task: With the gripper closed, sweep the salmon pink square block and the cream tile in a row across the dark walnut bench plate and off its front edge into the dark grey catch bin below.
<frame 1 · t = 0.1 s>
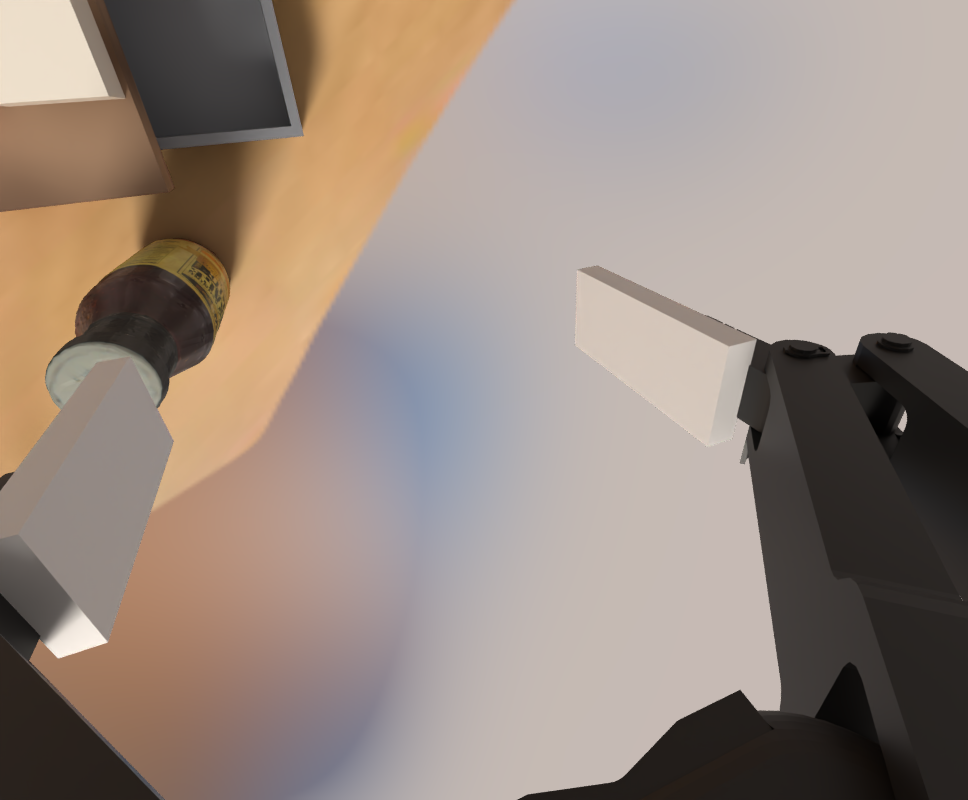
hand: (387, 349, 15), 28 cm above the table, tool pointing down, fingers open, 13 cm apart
cream tile: (41, 40, 23), point 8 cm above the table, touching bench plate
sauce bottle: (185, 273, 36), on the table
catch bin: (174, 33, 30), on the table
bench plate: (41, 60, 29), on the table
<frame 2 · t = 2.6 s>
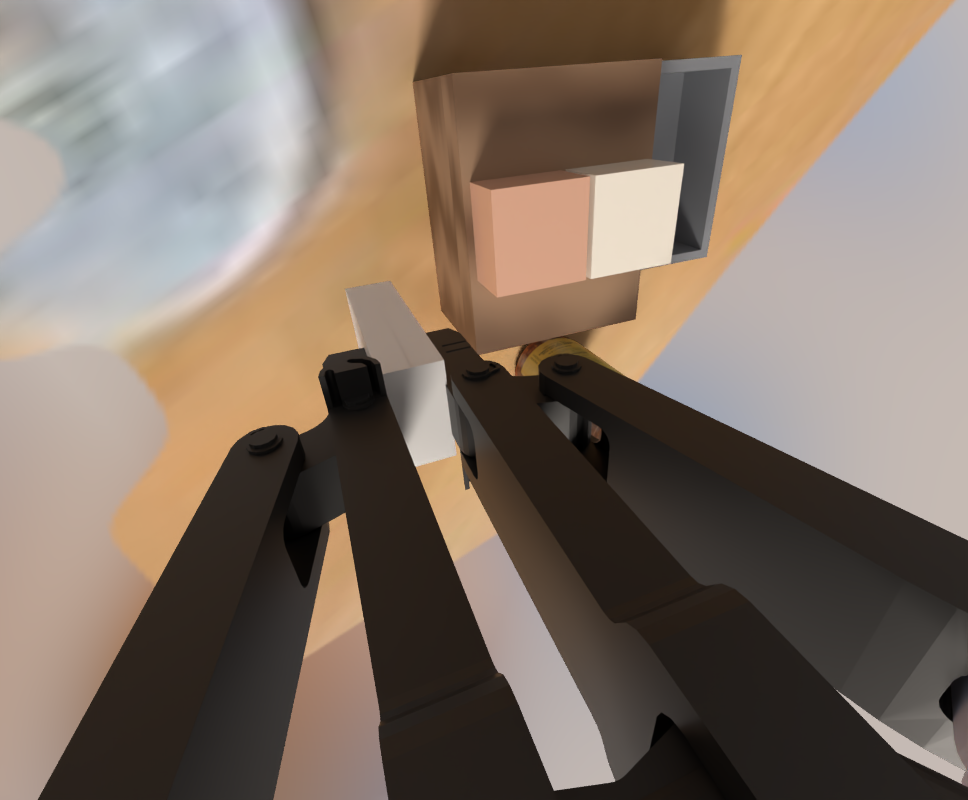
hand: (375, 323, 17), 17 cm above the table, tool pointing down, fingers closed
cream tile: (604, 213, 27), point 8 cm above the table, touching bench plate
sauce bottle: (544, 361, 41), on the table
salmon pink square block: (517, 226, 26), point 8 cm above the table, touching bench plate
catch bin: (603, 169, 34), on the table
bench plate: (506, 198, 33), on the table
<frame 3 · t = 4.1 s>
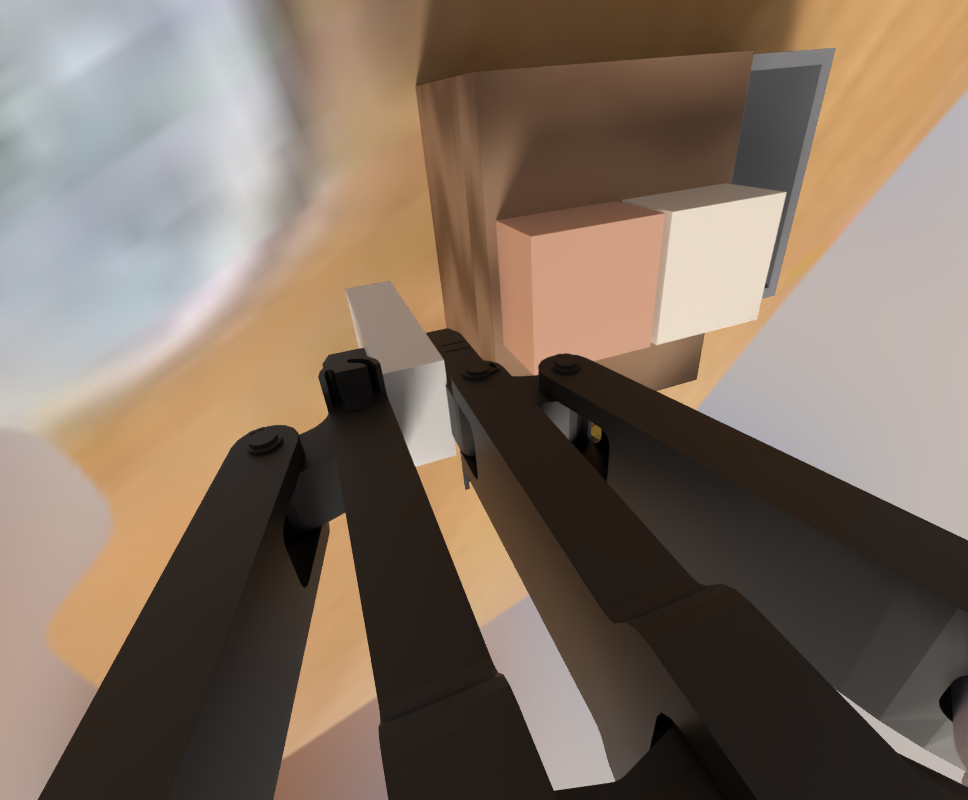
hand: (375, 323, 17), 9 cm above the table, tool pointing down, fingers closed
cream tile: (667, 253, 21), point 8 cm above the table, touching bench plate
salmon pink square block: (557, 275, 19), point 8 cm above the table, touching bench plate
catch bin: (649, 191, 28), on the table
bench plate: (531, 229, 27), on the table
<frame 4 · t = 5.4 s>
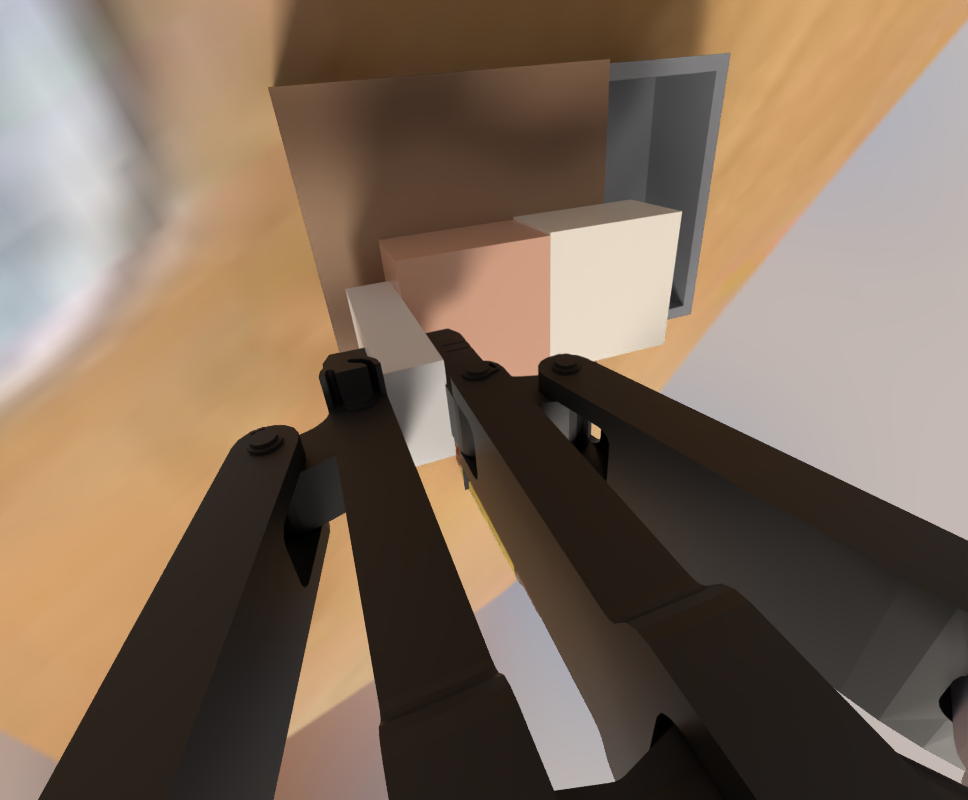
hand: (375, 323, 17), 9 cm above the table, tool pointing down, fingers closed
cream tile: (572, 272, 20), point 8 cm above the table
sauce bottle: (494, 436, 33), on the table
salmon pink square block: (455, 297, 18), point 8 cm above the table, touching gripper
catch bin: (555, 204, 26), on the table
bench plate: (425, 246, 25), on the table
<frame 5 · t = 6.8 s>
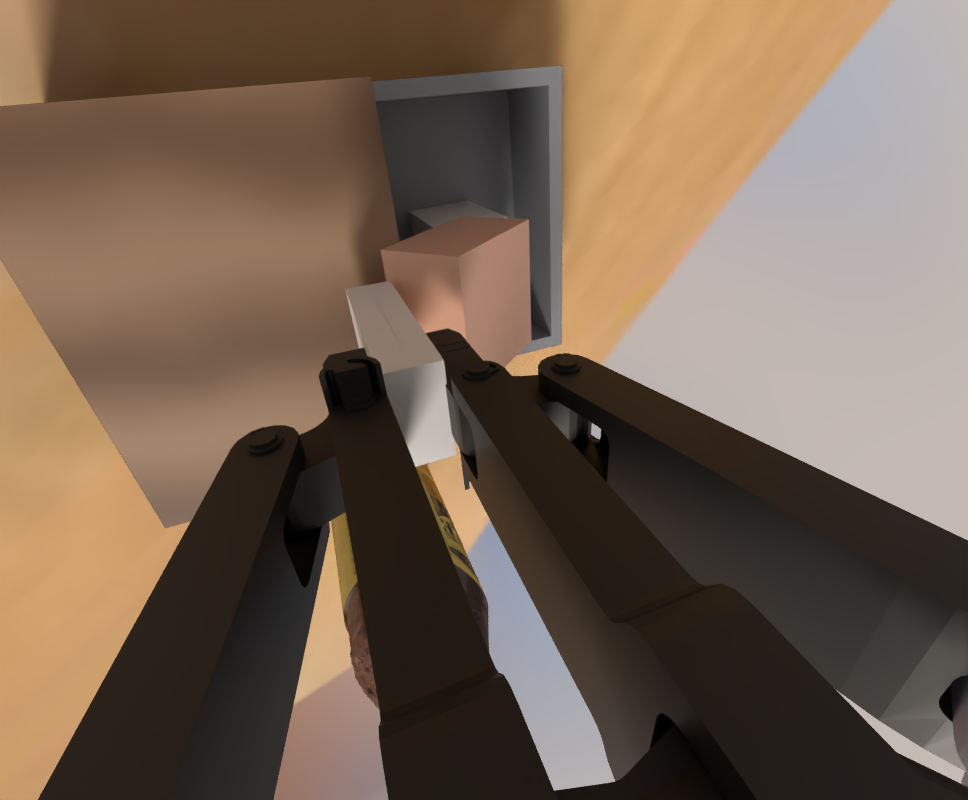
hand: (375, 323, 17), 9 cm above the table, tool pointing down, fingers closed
cream tile: (432, 275, 23), point 3 cm above the table, tilted 91°, touching catch bin
sauce bottle: (376, 468, 31), on the table
salmon pink square block: (433, 297, 19), point 7 cm above the table, tilted 40°, touching gripper
catch bin: (410, 226, 24), on the table
bench plate: (261, 273, 23), on the table
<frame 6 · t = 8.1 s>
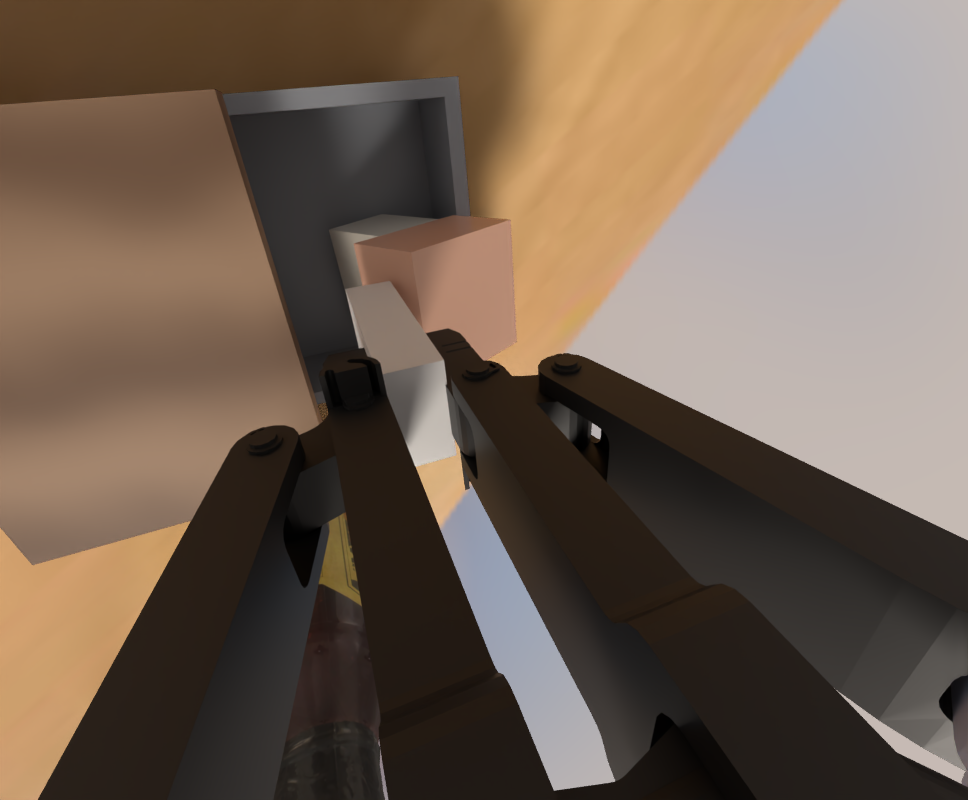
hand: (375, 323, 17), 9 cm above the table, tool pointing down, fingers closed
cream tile: (376, 292, 21), point 4 cm above the table, tilted 119°, touching catch bin, salmon pink square block
sauce bottle: (305, 489, 30), on the table
salmon pink square block: (417, 292, 20), point 6 cm above the table, tilted 29°, touching cream tile, gripper
catch bin: (323, 241, 23), on the table
bench plate: (160, 290, 22), on the table
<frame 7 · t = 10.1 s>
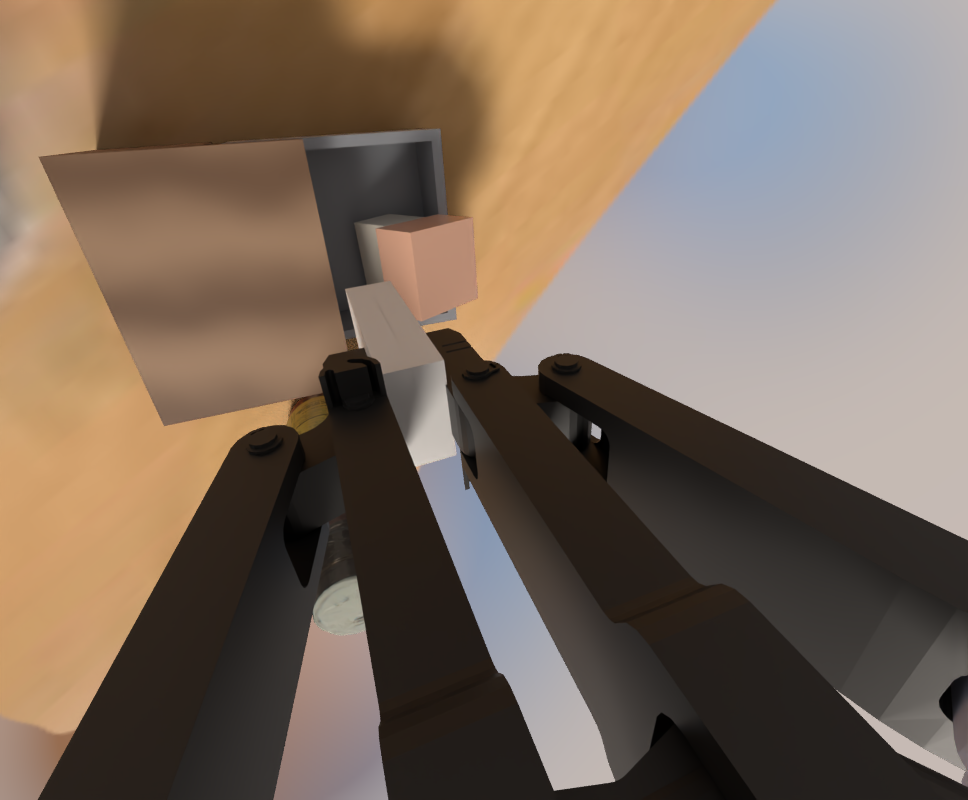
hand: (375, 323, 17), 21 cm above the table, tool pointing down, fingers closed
cream tile: (384, 264, 32), point 4 cm above the table, tilted 119°, touching catch bin, salmon pink square block
sauce bottle: (325, 416, 40), on the table
salmon pink square block: (413, 262, 30), point 6 cm above the table, tilted 29°, touching cream tile
catch bin: (348, 231, 34), on the table
bench plate: (238, 260, 33), on the table
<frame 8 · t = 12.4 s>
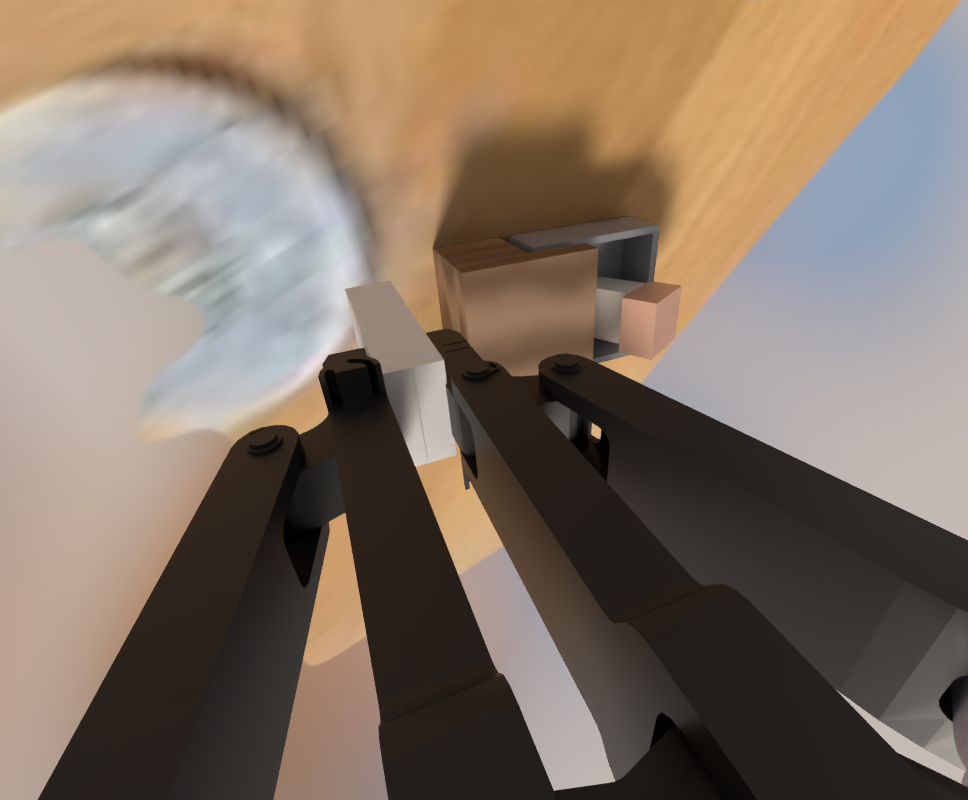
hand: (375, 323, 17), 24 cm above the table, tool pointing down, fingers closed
cream tile: (606, 316, 45), point 4 cm above the table, tilted 119°, touching catch bin, salmon pink square block
salmon pink square block: (633, 316, 43), point 6 cm above the table, tilted 29°, touching cream tile
catch bin: (569, 289, 47), on the table
bench plate: (498, 314, 46), on the table
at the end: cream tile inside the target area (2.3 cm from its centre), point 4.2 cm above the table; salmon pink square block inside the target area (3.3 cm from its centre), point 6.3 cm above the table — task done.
